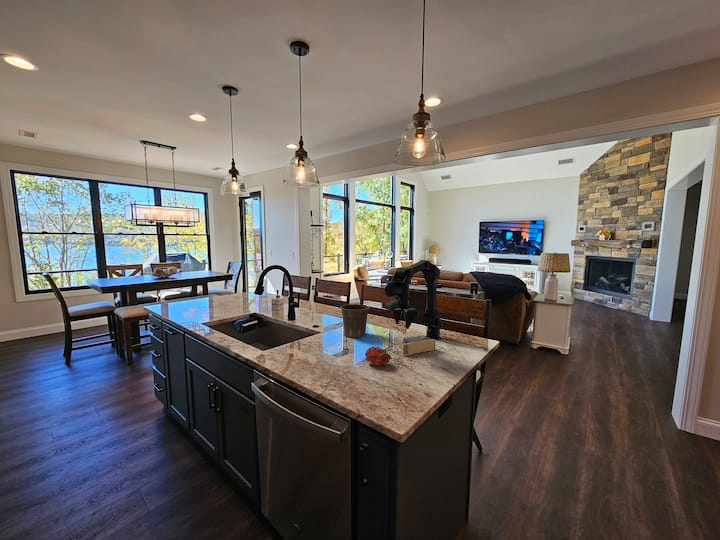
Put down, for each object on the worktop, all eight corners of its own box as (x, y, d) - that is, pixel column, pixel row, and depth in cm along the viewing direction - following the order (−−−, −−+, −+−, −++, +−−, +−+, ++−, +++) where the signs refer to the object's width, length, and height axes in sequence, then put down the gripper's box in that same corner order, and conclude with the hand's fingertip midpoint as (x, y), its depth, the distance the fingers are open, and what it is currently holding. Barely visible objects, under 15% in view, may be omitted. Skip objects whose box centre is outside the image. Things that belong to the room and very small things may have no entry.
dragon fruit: (363, 365, 130) (389, 373, 126) (359, 360, 123) (386, 368, 119) (369, 346, 134) (394, 354, 130) (366, 340, 127) (392, 348, 123)
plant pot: (343, 329, 177) (343, 303, 176) (370, 331, 175) (370, 304, 174) (337, 338, 161) (337, 309, 160) (367, 339, 159) (367, 310, 158)
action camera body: (423, 344, 153) (423, 334, 152) (432, 349, 145) (433, 338, 145) (401, 348, 147) (401, 337, 147) (410, 353, 140) (410, 342, 139)
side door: (434, 349, 145) (434, 338, 145) (435, 349, 144) (436, 339, 144) (401, 354, 138) (402, 343, 137) (403, 355, 137) (403, 344, 136)
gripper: (378, 292, 146) (378, 323, 147) (397, 298, 129) (397, 333, 130) (398, 290, 150) (397, 321, 152) (419, 297, 133) (418, 331, 134)
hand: (402, 326), depth 142 cm, fingers open, 9 cm apart
